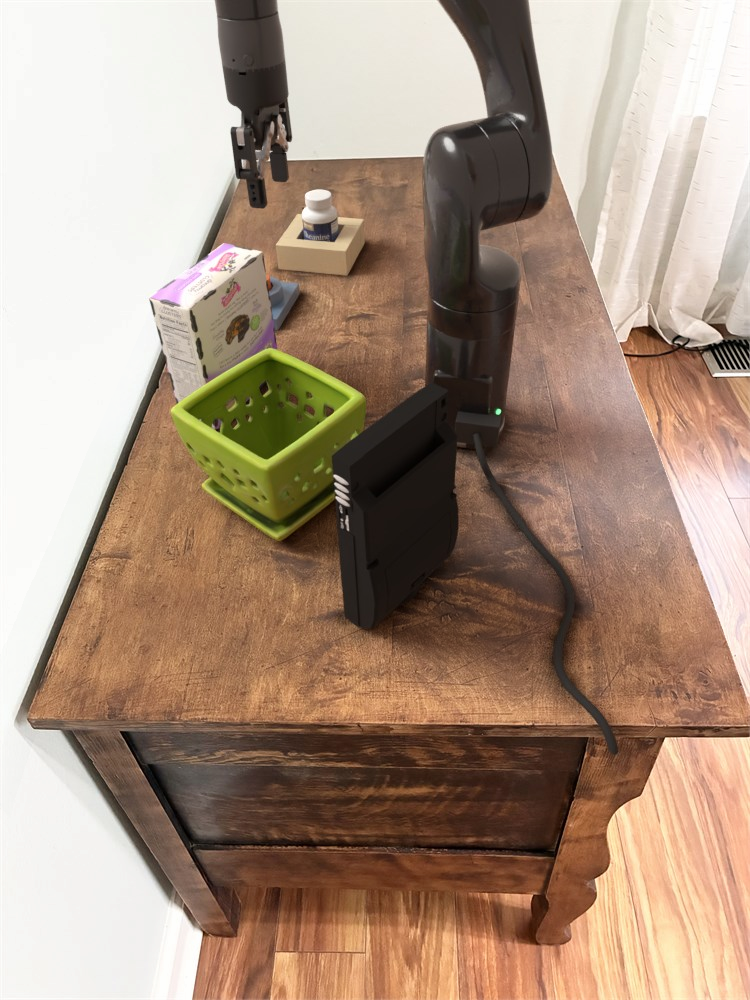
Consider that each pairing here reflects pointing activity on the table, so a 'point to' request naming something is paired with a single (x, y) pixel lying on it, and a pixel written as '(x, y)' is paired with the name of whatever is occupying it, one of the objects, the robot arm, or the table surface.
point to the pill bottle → (320, 217)
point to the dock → (321, 248)
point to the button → (268, 281)
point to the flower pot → (270, 438)
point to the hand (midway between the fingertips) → (270, 193)
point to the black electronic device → (395, 505)
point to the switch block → (282, 299)
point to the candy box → (214, 318)
